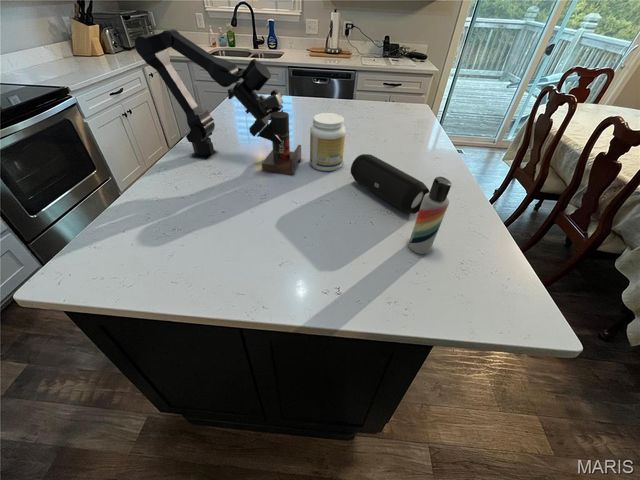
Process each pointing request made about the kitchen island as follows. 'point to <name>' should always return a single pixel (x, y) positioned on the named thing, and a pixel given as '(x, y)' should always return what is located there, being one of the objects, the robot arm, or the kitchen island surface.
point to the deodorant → (281, 135)
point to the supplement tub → (327, 141)
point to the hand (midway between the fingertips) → (285, 138)
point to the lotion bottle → (430, 216)
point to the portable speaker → (389, 183)
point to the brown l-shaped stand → (282, 163)
